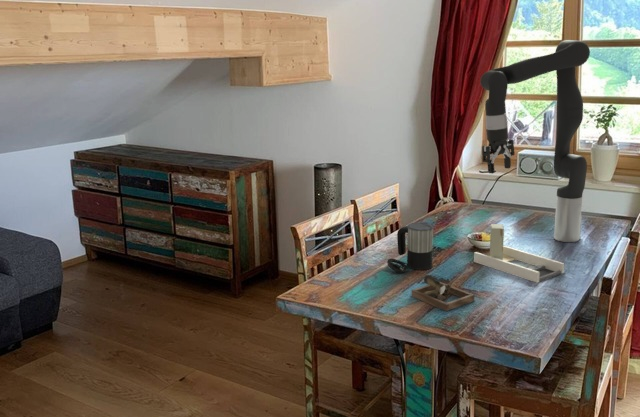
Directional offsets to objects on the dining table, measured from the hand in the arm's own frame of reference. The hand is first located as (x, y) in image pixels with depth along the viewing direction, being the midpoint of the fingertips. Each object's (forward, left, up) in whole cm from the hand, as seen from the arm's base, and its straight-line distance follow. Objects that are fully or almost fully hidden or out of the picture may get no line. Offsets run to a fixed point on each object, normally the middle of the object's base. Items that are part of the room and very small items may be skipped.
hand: (499, 170), depth 249 cm
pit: (+11, +29, -30) cm, 43 cm away
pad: (+11, +9, -30) cm, 33 cm away
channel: (+11, +19, -30) cm, 37 cm away
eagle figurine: (+52, +20, -30) cm, 64 cm away
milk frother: (+40, -5, -30) cm, 50 cm away
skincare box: (+11, +9, -30) cm, 33 cm away
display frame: (+51, +22, -30) cm, 63 cm away
